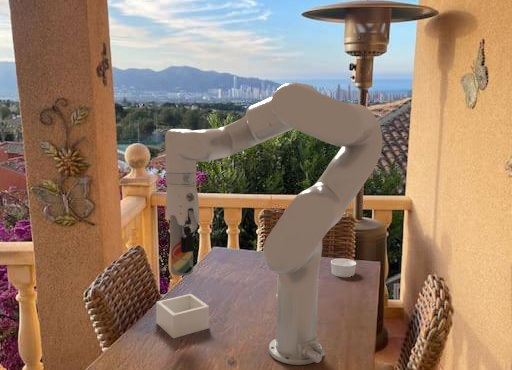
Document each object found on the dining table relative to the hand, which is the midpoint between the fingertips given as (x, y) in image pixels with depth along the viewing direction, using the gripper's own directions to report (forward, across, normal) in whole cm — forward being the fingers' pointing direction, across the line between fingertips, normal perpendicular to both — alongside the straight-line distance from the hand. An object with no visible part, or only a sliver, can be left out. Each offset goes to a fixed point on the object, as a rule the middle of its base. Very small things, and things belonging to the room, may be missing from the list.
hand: (181, 248), depth 122 cm
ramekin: (+21, +6, -65) cm, 69 cm away
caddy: (+21, 0, 0) cm, 21 cm away
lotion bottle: (+7, 0, 0) cm, 7 cm away
